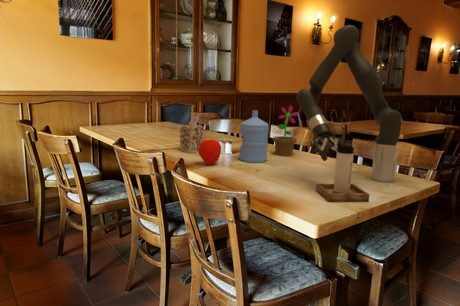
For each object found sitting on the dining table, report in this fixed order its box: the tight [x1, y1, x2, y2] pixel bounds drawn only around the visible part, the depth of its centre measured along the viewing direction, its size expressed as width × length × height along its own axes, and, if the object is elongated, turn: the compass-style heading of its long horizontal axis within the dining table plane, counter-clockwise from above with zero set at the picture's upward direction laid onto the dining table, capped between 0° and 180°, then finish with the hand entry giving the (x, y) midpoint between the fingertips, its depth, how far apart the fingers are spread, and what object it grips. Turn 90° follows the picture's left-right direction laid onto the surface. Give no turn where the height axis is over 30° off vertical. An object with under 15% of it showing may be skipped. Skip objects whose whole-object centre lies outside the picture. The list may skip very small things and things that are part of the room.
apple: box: [198, 139, 222, 166], centre depth 188 cm, size 12×12×13 cm
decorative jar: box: [179, 121, 207, 154], centre depth 220 cm, size 12×12×18 cm
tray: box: [315, 183, 370, 203], centre depth 142 cm, size 16×14×3 cm
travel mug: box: [333, 143, 355, 194], centre depth 141 cm, size 6×7×20 cm
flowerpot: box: [272, 105, 299, 157], centre depth 217 cm, size 14×14×30 cm
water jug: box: [238, 109, 269, 164], centre depth 200 cm, size 16×16×28 cm
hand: (334, 159), depth 146 cm, fingers open, 8 cm apart
